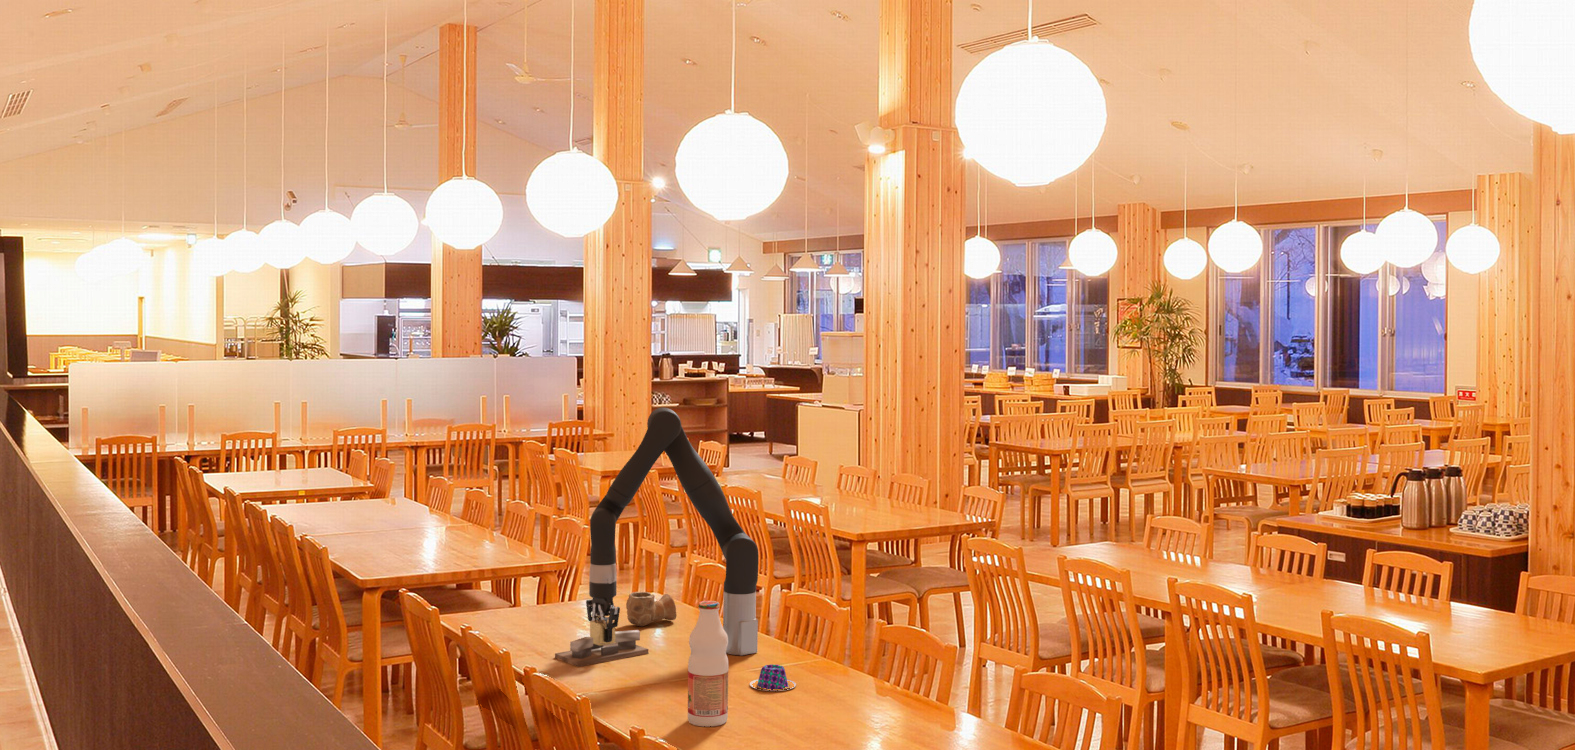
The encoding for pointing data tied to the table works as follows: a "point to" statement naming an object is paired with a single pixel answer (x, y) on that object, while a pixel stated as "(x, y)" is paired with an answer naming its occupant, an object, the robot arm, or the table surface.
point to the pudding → (772, 678)
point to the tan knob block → (600, 632)
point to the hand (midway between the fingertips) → (602, 639)
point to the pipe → (649, 608)
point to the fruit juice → (708, 669)
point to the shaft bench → (602, 649)
